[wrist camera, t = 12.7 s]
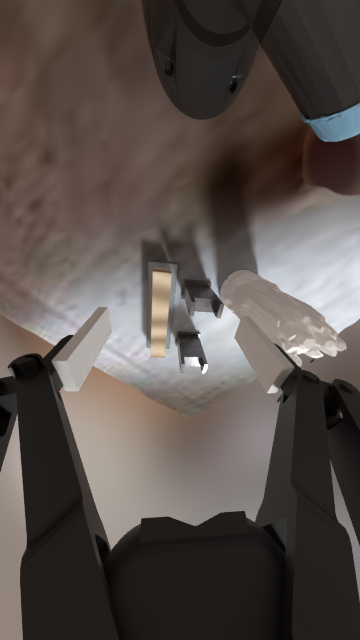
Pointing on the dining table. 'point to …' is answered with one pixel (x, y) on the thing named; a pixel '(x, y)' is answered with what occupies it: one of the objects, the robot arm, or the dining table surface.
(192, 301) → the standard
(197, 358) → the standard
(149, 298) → the mat
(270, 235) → the dining table surface
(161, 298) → the rail
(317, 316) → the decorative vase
